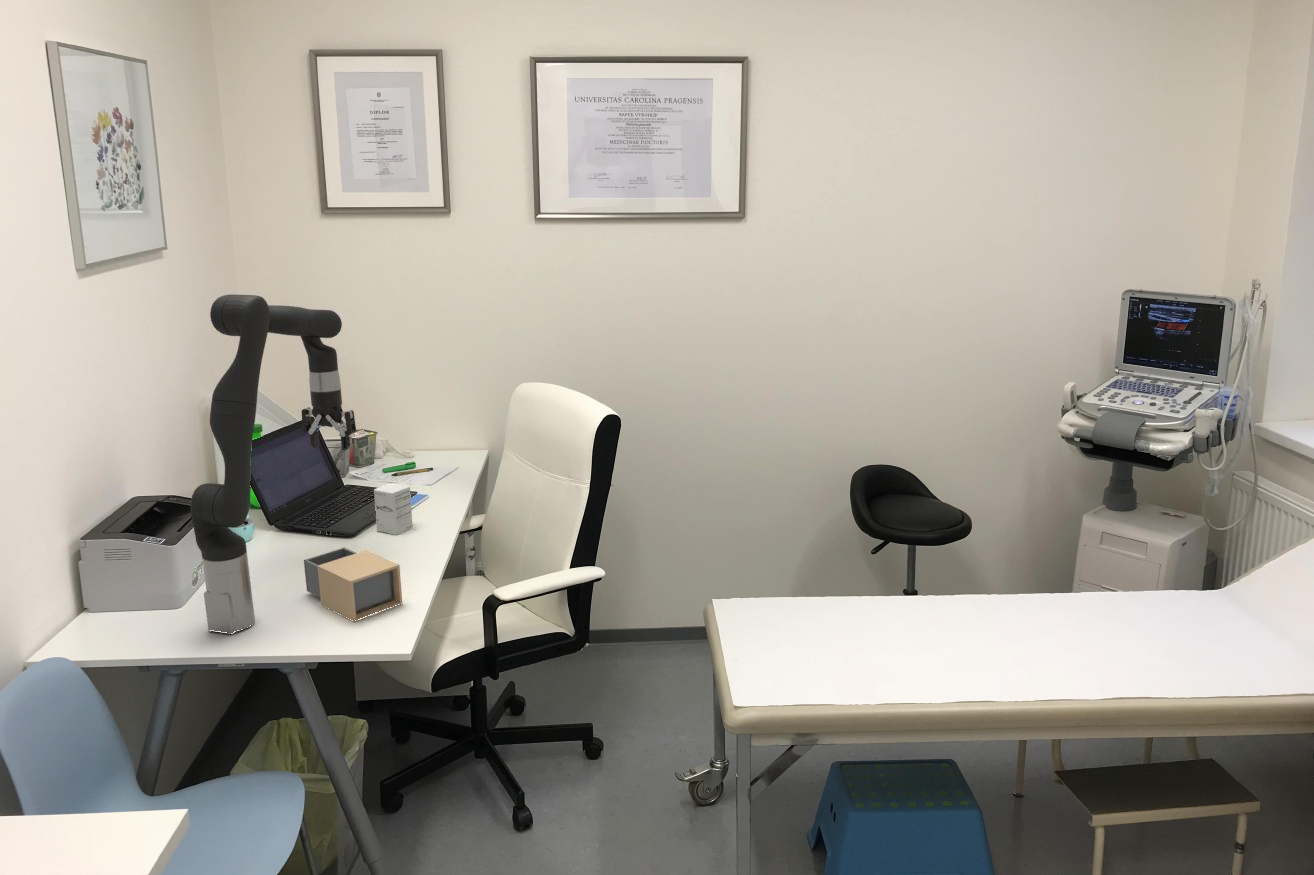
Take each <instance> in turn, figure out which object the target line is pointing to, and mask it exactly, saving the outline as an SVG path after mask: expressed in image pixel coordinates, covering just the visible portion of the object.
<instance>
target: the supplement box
mask: <svg viewBox="0 0 1314 875" xmlns="http://www.w3.org/2000/svg"><path fill="white" fill-rule="evenodd" d="M410 493H411V486H410V485H402V484H398V483H392V482H390V483H387V484H384V485H381V486H379V487H377V488H374V489H373V496H374V505H375V511H376V515H375V521H376V522H375V524H376V531H377V532H380V533H381V532H382V533H386V534H391V535H394V536H397V535H400V534H402V533H404V532H406V531H408V530H410V529H413V512H412V509H413V508H412V509H411V494H412V493H411V494H410Z"/></svg>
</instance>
